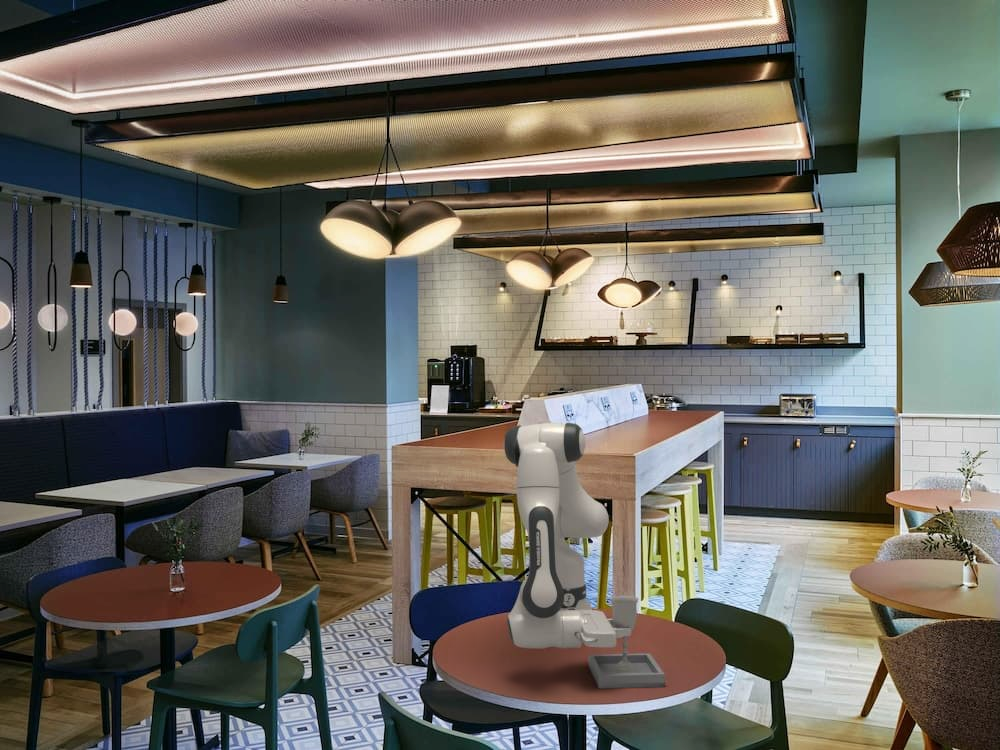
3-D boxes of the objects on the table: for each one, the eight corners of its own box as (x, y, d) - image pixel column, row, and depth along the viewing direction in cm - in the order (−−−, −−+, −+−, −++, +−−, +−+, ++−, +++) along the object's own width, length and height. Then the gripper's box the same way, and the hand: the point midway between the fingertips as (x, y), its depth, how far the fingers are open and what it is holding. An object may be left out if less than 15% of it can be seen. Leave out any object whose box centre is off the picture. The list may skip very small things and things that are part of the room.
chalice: (622, 665, 214) (622, 594, 214) (645, 671, 209) (644, 598, 209) (605, 672, 209) (604, 599, 209) (627, 678, 204) (626, 604, 204)
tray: (588, 666, 217) (588, 654, 217) (649, 665, 217) (649, 653, 217) (598, 688, 201) (598, 675, 201) (664, 686, 201) (664, 674, 201)
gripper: (578, 628, 198) (636, 627, 199) (567, 605, 219) (620, 604, 219) (578, 655, 198) (636, 653, 199) (567, 630, 219) (620, 629, 219)
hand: (628, 627), depth 209 cm, fingers closed on chalice, 5 cm apart
